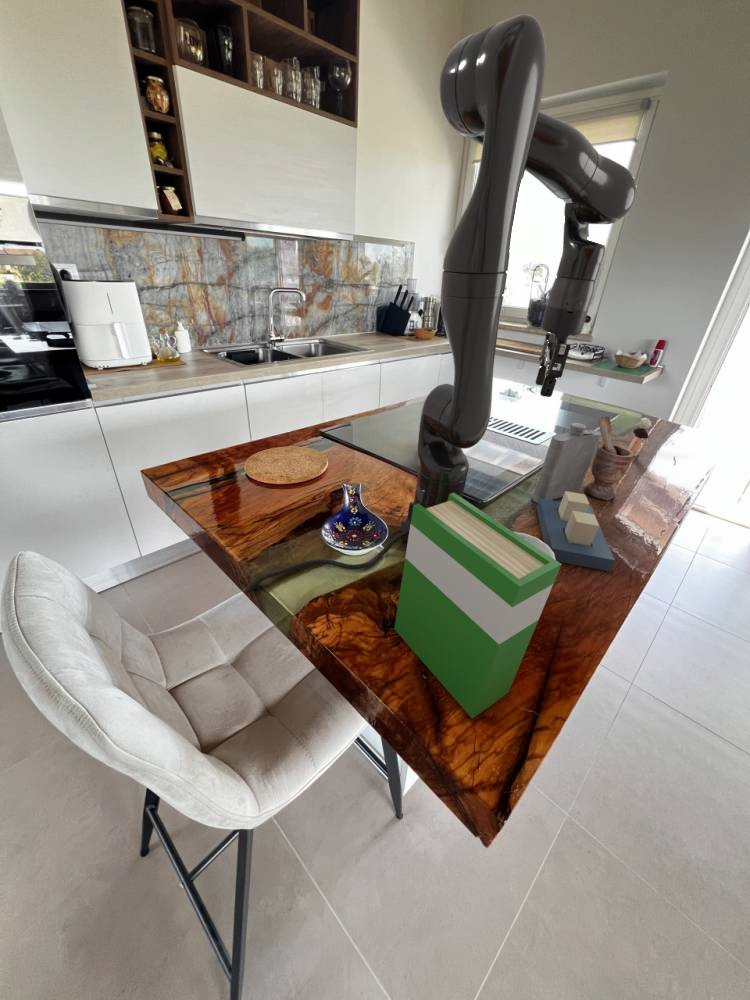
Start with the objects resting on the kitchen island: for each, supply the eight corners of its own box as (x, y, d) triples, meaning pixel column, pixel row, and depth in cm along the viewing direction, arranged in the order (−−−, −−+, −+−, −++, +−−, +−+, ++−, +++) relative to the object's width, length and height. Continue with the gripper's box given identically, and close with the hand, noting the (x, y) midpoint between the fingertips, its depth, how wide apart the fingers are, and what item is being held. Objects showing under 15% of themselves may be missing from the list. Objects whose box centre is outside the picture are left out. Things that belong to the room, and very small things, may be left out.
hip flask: (539, 504, 106) (563, 431, 96) (527, 496, 109) (550, 425, 98) (580, 493, 113) (607, 424, 102) (568, 486, 116) (594, 419, 105)
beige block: (585, 556, 89) (599, 525, 84) (564, 552, 89) (576, 521, 85) (581, 544, 92) (594, 514, 88) (560, 540, 93) (572, 510, 89)
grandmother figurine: (618, 449, 143) (633, 414, 136) (626, 448, 144) (642, 414, 138) (636, 459, 137) (652, 423, 130) (644, 458, 138) (661, 422, 131)
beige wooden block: (557, 529, 97) (568, 500, 93) (554, 519, 101) (565, 490, 96) (577, 533, 96) (589, 504, 92) (573, 522, 100) (585, 494, 96)
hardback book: (394, 628, 67) (413, 505, 55) (428, 611, 71) (453, 492, 59) (472, 718, 55) (519, 586, 43) (508, 692, 59) (561, 564, 47)
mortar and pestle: (565, 486, 116) (591, 419, 105) (578, 478, 121) (603, 412, 111) (608, 504, 109) (639, 433, 99) (619, 494, 114) (650, 426, 104)
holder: (547, 559, 87) (552, 548, 85) (536, 508, 104) (539, 497, 103) (609, 571, 85) (615, 560, 83) (587, 517, 103) (591, 507, 101)
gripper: (542, 300, 85) (521, 379, 93) (552, 307, 73) (527, 397, 81) (580, 304, 84) (555, 384, 92) (597, 312, 72) (567, 403, 80)
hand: (542, 390), depth 87 cm, fingers open, 8 cm apart
